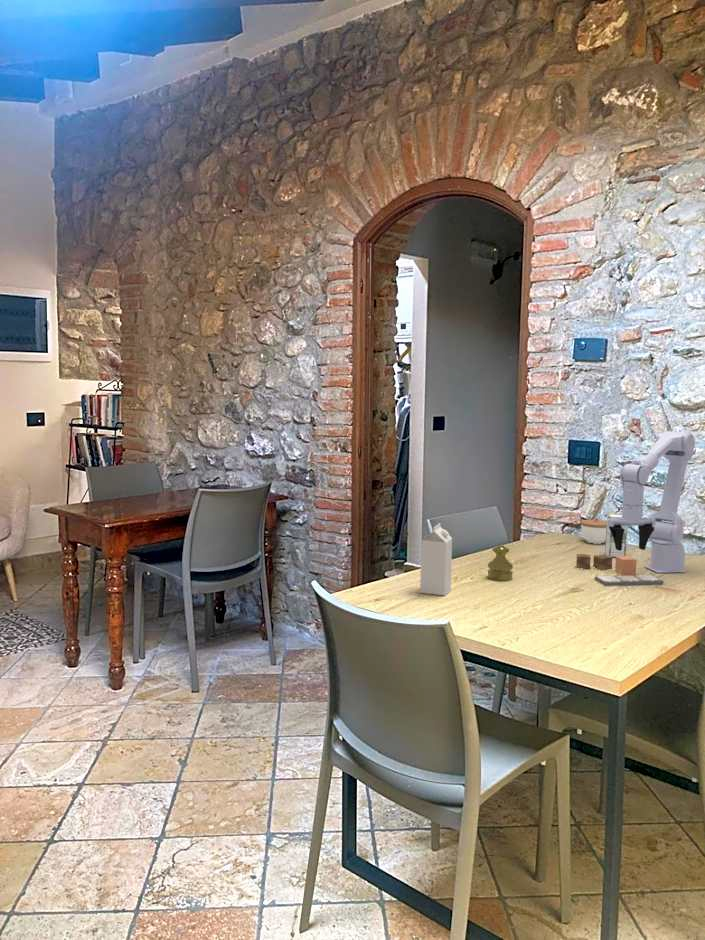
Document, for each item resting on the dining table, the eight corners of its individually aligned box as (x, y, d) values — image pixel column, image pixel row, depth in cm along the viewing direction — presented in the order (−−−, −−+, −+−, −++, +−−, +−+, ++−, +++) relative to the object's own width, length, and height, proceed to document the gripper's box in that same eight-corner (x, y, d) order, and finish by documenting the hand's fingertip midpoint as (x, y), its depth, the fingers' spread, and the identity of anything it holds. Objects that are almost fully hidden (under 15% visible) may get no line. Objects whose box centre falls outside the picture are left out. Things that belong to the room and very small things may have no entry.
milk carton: (419, 593, 213) (421, 526, 211) (426, 587, 220) (428, 522, 218) (444, 596, 211) (446, 528, 209) (450, 589, 217) (452, 523, 215)
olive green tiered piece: (514, 581, 227) (515, 548, 226) (489, 581, 228) (490, 548, 226) (510, 575, 235) (511, 543, 234) (485, 574, 235) (486, 542, 234)
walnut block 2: (603, 566, 247) (603, 554, 247) (611, 569, 243) (612, 557, 243) (593, 567, 246) (593, 555, 245) (601, 570, 242) (602, 558, 241)
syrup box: (621, 554, 265) (623, 513, 263) (625, 558, 259) (628, 516, 257) (604, 554, 265) (606, 512, 264) (608, 557, 260) (610, 515, 258)
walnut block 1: (589, 566, 247) (589, 554, 247) (590, 569, 243) (590, 557, 243) (576, 566, 248) (576, 553, 247) (576, 568, 244) (577, 556, 244)
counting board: (651, 578, 233) (651, 574, 233) (663, 584, 226) (663, 580, 226) (594, 579, 230) (594, 576, 230) (605, 585, 224) (605, 582, 223)
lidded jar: (606, 540, 289) (607, 515, 288) (613, 546, 278) (614, 520, 277) (577, 539, 290) (578, 514, 289) (583, 545, 279) (584, 519, 278)
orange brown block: (628, 571, 241) (629, 556, 240) (635, 575, 237) (636, 559, 236) (615, 572, 240) (615, 556, 240) (621, 575, 236) (622, 559, 235)
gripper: (647, 502, 233) (645, 545, 234) (603, 502, 230) (601, 547, 232) (660, 505, 226) (658, 550, 227) (615, 506, 223) (613, 552, 225)
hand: (630, 549), depth 229 cm, fingers open, 7 cm apart
